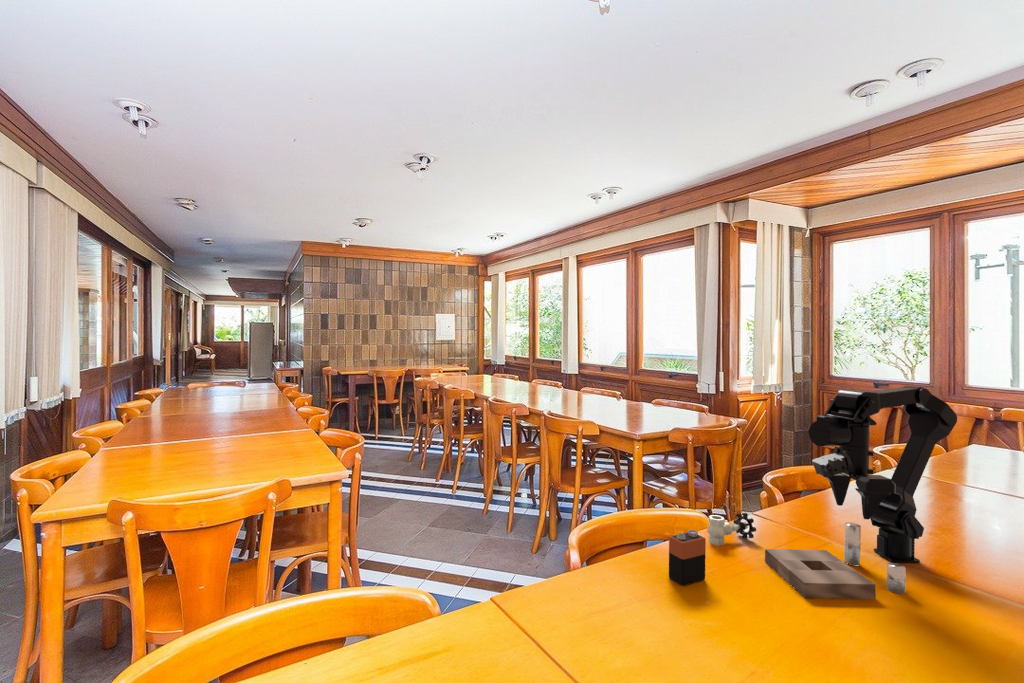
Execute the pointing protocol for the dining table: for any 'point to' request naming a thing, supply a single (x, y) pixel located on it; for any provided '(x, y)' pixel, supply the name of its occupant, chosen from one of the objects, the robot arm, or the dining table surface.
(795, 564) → the hole plate
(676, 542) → the battery
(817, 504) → the dining table surface
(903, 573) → the short pin
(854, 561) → the long pin
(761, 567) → the dining table surface
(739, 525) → the valve
